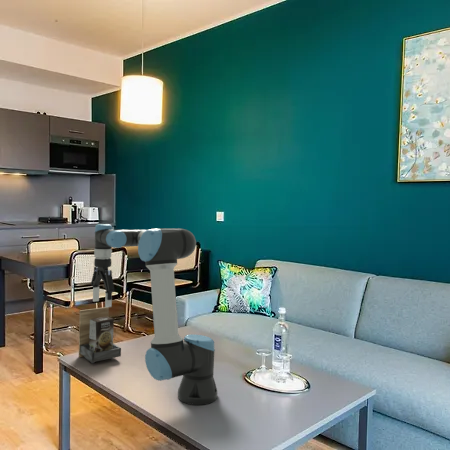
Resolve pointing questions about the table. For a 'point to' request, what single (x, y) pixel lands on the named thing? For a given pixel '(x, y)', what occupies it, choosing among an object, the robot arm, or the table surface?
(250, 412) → the table surface
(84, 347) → the grey and wood box
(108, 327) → the coffee box
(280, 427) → the table surface
